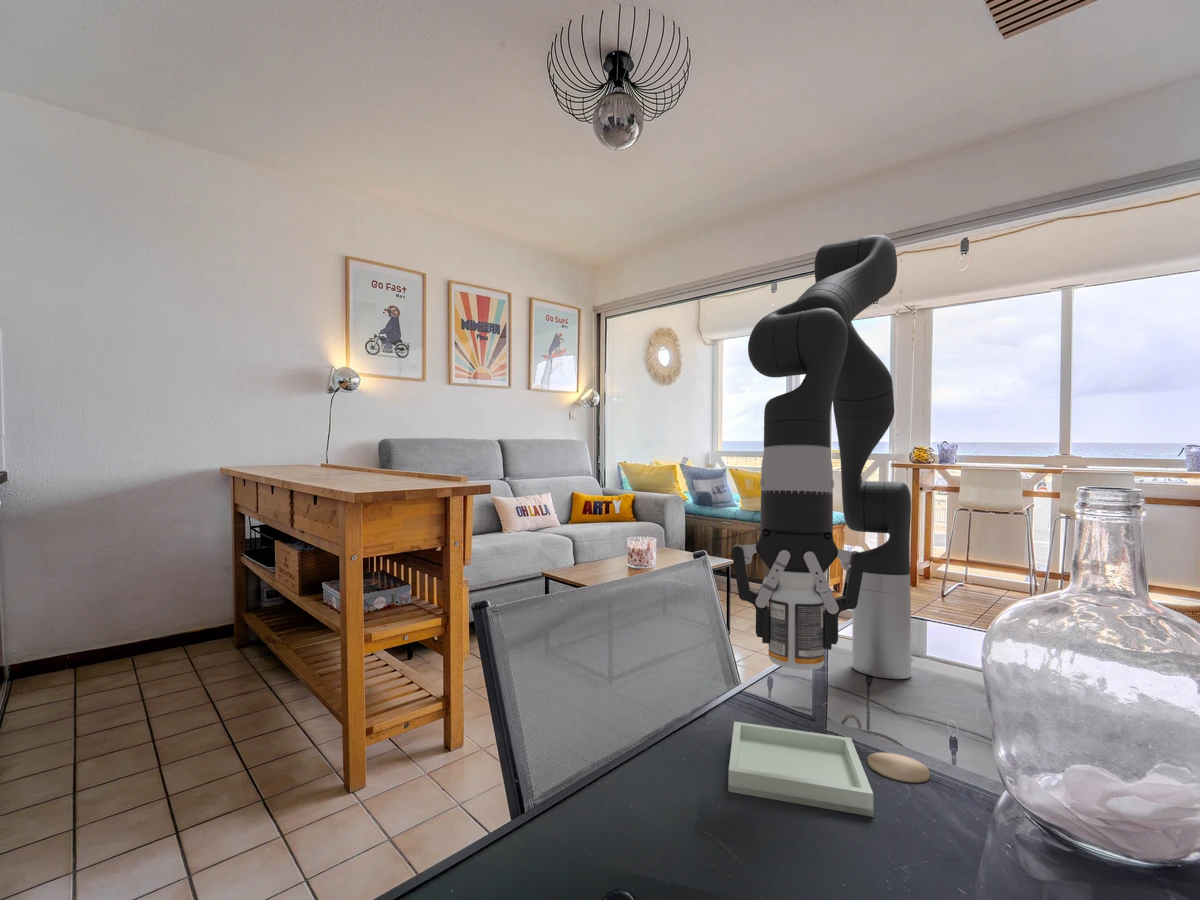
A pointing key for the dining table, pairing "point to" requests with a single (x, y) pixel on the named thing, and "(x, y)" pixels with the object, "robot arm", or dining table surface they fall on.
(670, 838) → the dining table surface
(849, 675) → the dining table surface
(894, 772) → the coaster
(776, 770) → the tray
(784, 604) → the pill bottle
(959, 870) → the dining table surface
